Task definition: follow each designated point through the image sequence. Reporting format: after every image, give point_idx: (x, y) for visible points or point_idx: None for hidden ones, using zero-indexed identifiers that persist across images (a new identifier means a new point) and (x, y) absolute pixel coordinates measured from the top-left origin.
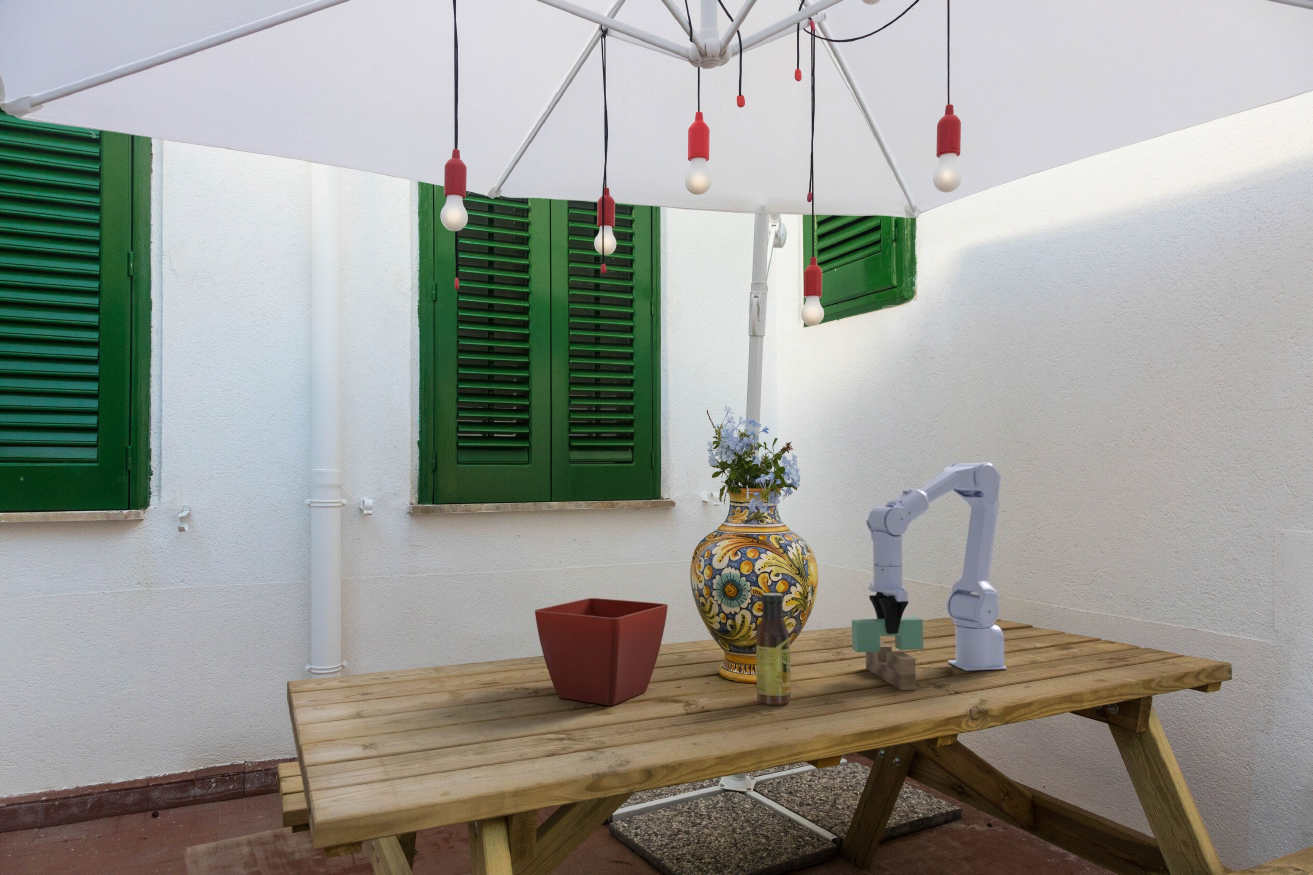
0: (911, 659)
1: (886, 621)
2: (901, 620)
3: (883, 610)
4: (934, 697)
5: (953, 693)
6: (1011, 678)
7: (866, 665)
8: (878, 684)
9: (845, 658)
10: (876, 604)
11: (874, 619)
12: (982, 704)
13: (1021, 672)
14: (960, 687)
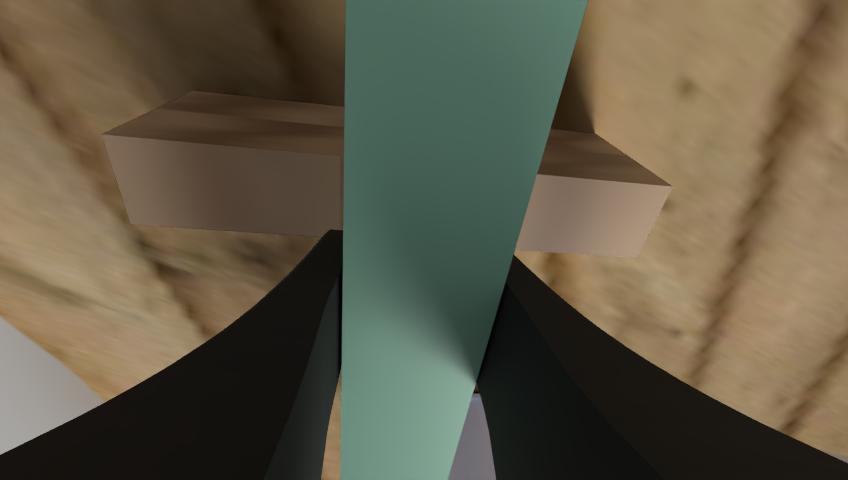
0: (128, 201)
1: (287, 278)
2: (345, 402)
3: (266, 361)
4: (78, 168)
5: (153, 257)
6: (328, 438)
7: (597, 137)
8: (312, 37)
9: (788, 133)
10: (582, 415)
11: (483, 228)
12: (2, 273)
13: None
14: (239, 308)
